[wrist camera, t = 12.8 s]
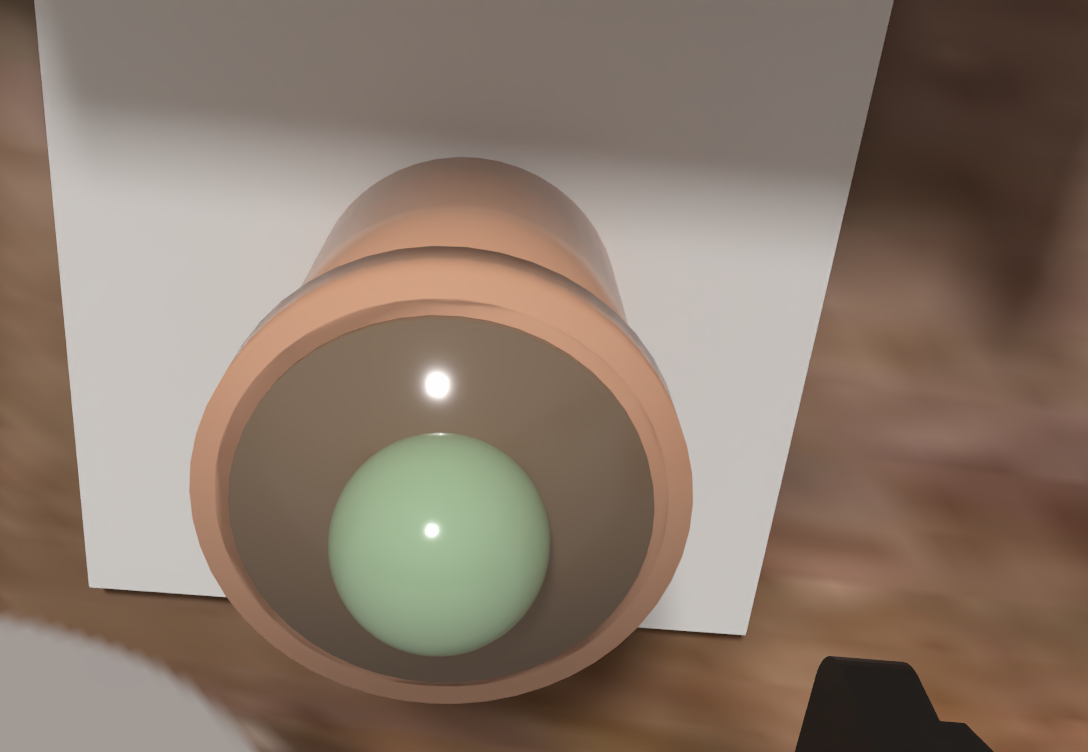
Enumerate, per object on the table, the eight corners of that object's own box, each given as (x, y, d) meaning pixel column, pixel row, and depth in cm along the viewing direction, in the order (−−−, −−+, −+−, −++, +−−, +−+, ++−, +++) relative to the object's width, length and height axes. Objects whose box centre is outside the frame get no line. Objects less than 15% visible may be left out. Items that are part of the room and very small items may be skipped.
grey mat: (897, -59, 17) (906, -58, 17) (741, 620, 23) (745, 635, 22) (33, -160, 16) (19, -162, 16) (97, 573, 22) (88, 587, 22)
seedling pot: (656, 159, 18) (775, 373, 10) (608, 465, 21) (672, 836, 12) (298, 121, 18) (116, 314, 9) (295, 439, 20) (149, 807, 12)
